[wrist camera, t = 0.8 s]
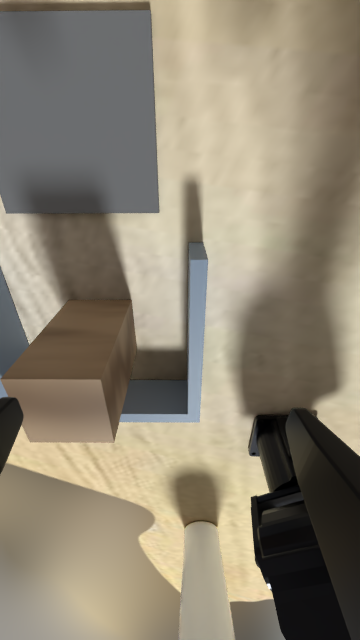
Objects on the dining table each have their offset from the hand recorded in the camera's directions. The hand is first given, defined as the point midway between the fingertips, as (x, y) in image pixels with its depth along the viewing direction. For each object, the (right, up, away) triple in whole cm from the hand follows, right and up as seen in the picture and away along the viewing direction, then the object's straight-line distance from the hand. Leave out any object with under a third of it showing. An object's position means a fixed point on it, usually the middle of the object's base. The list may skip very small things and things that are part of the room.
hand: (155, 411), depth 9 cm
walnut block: (-6, +2, +13) cm, 15 cm away
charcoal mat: (-6, +14, +6) cm, 16 cm away
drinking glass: (+4, -29, +32) cm, 44 cm away
